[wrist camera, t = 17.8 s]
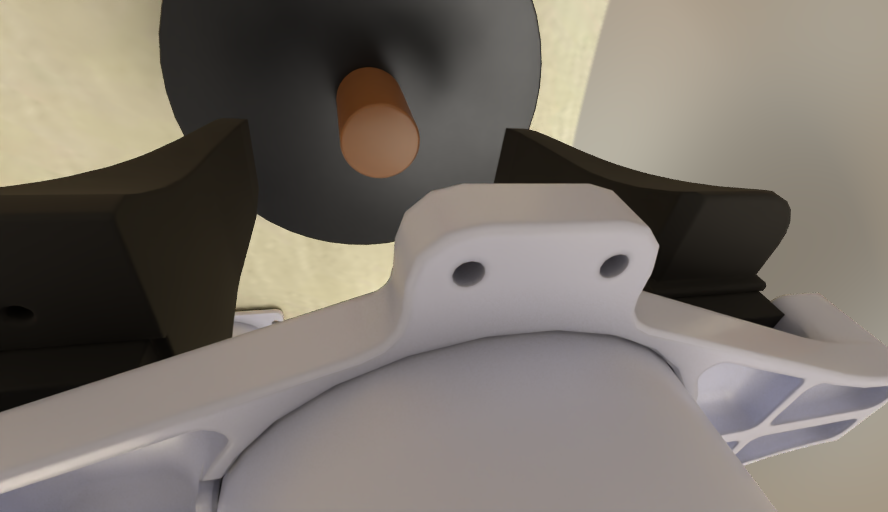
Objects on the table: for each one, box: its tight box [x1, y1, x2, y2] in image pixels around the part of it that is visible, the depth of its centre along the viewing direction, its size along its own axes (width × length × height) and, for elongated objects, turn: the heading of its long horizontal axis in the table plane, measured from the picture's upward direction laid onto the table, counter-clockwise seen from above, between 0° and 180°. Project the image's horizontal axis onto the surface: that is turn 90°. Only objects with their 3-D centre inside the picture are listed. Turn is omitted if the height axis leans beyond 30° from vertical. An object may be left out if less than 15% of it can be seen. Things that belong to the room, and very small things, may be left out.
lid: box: [159, 0, 542, 245], centre depth 15 cm, size 13×13×5 cm
